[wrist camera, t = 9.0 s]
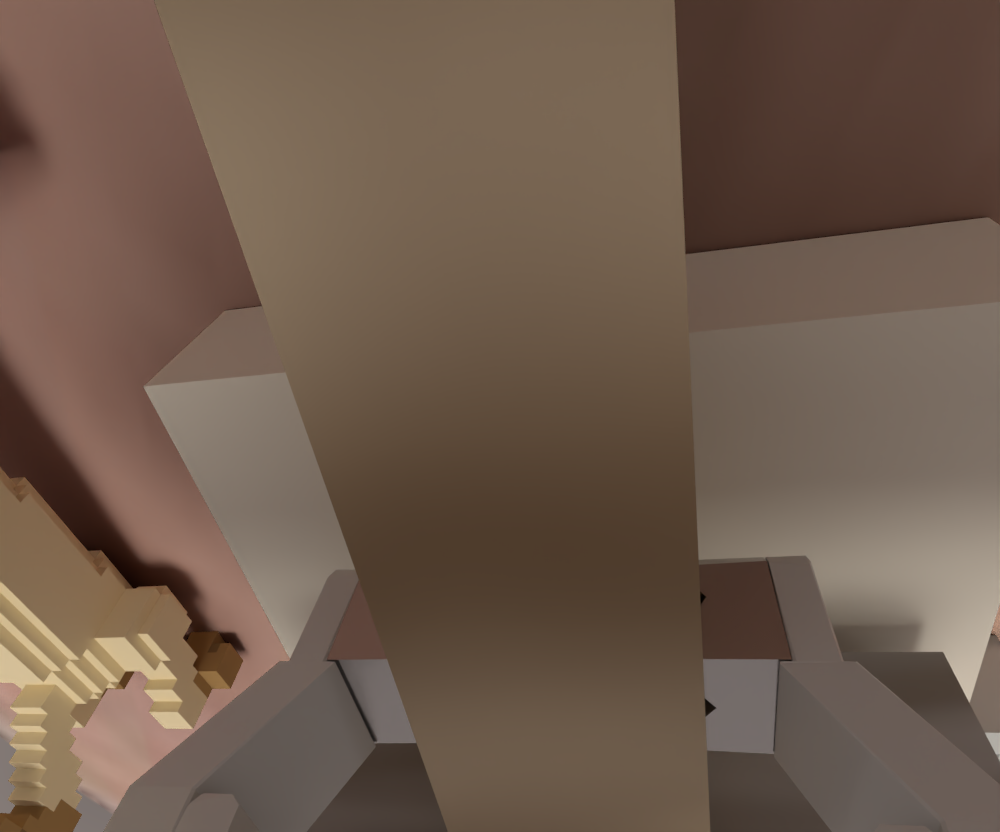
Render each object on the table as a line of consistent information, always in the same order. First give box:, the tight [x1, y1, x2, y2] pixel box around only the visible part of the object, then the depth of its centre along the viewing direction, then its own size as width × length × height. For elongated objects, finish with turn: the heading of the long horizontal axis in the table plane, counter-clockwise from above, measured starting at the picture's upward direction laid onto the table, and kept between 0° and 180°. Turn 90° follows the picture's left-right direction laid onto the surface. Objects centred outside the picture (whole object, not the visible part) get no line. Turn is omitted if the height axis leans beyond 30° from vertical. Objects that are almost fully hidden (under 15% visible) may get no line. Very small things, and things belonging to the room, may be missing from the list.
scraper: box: [154, 0, 1000, 832], centre depth 9 cm, size 14×12×4 cm
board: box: [143, 217, 1000, 703], centre depth 14 cm, size 10×14×3 cm
